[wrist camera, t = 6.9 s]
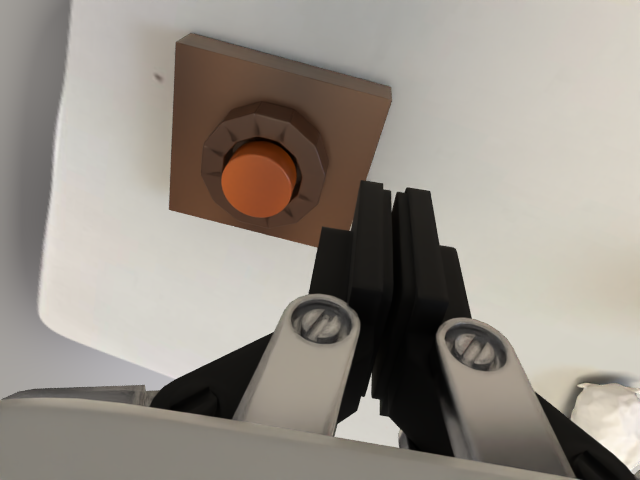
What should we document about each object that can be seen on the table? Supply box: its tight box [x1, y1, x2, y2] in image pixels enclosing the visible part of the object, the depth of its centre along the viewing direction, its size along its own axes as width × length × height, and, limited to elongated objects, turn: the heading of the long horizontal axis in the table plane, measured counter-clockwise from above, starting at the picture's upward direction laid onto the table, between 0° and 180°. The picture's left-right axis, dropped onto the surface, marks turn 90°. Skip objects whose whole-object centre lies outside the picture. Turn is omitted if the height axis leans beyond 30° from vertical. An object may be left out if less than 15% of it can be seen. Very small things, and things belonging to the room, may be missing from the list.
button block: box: [169, 33, 392, 248], centre depth 26 cm, size 11×10×4 cm
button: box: [221, 141, 297, 218], centre depth 24 cm, size 4×4×2 cm
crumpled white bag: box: [570, 383, 640, 471], centre depth 36 cm, size 5×7×10 cm
